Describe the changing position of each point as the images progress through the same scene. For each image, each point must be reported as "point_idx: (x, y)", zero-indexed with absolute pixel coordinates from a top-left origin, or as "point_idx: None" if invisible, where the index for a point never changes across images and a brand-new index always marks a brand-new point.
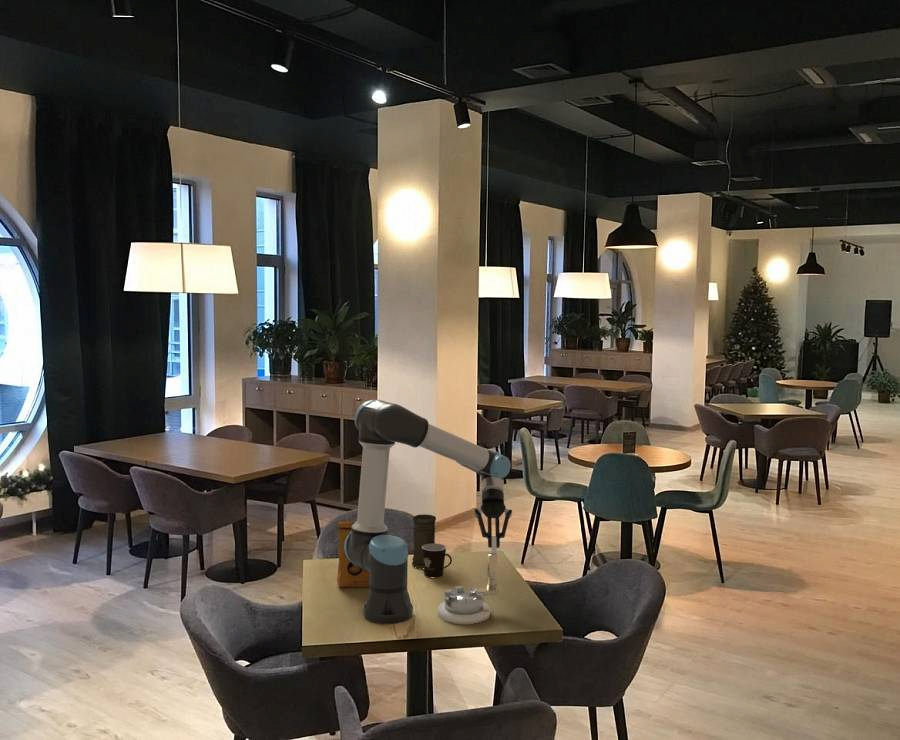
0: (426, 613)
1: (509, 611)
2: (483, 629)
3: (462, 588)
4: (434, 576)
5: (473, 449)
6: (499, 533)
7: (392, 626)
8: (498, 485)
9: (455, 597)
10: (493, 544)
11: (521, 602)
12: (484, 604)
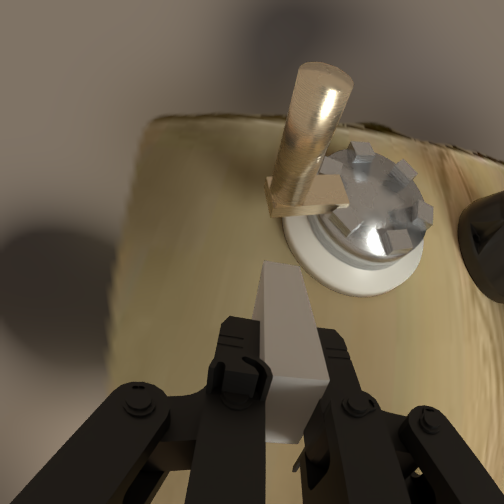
0: (436, 246)
1: (217, 225)
2: None
3: (389, 232)
4: None
5: None
6: (213, 369)
7: (471, 196)
8: None
9: (399, 162)
10: (295, 309)
11: (155, 292)
12: (299, 231)
